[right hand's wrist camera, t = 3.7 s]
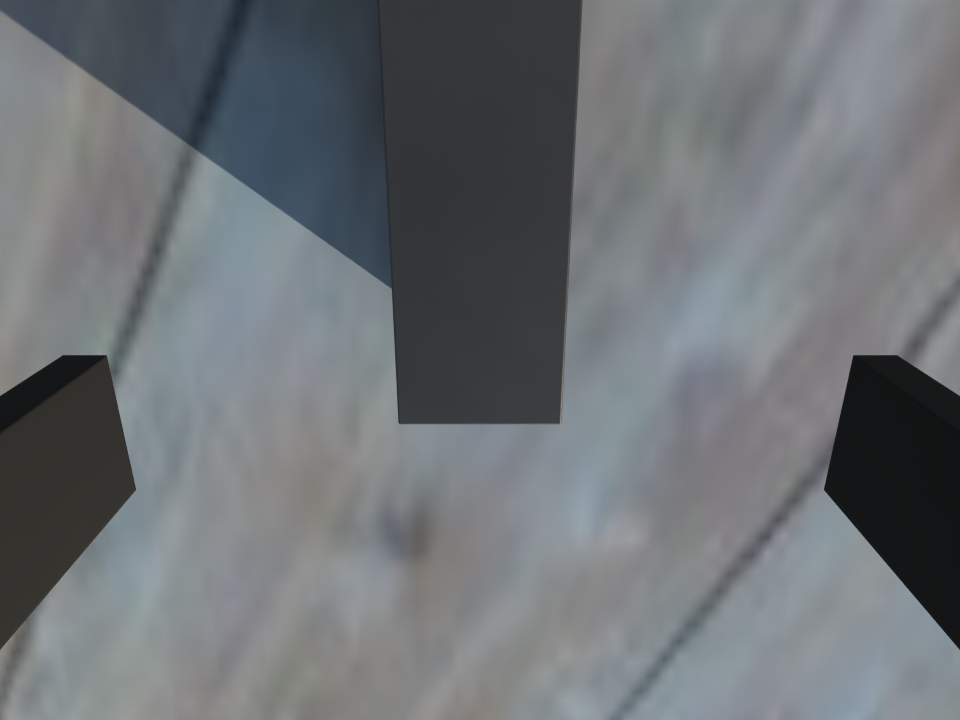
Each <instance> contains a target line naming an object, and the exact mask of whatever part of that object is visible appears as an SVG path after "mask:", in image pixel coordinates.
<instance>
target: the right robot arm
mask: <svg viewBox="0 0 960 720" xmlns="http://www.w3.org/2000/svg"><path fill="white" fill-rule="evenodd" d="M135 490H136V487H135V483H134V478H133V474H132V469H131V465H130V460H129V455H128V451H127V446H126V442H125V437H124V433H123V428H122V423H121V419H120V414H119V410H118V405H117V401H116V396H115V391H114V387H113V382H112V378H111V373H110V369H109V364H108V359H107V355H63V356H61V357H60V358H58V359H57V360H55V361H54V362H52V363H51V364H49V365H47V366H46V367H44V368H43V369H41V370H40V371H38V372H37V373H35V374H34V375H32V376H30V377H29V378H27V379H26V380H24V381H23V382H21V383H20V384H18V385H17V386H15V387H14V388H12V389H10V390H9V391H7V392H6V393H4V394H3V395H1V396H0V649H1V648H2V647H3V646H4V645H5V643H6V642H7V641H8V640H9V639H10V638H11V636H12V635H13V634H14V633H15V632H16V631H17V629H18V628H19V627H20V626H21V625H22V623H23V622H24V621H25V620H26V619H27V618H28V616H29V615H30V614H31V613H32V612H33V611H34V609H35V608H36V607H37V606H38V605H39V603H40V602H41V601H42V600H43V599H44V598H45V596H46V595H47V594H48V593H49V592H50V591H51V589H52V588H53V587H54V586H55V585H56V583H57V582H58V581H59V580H60V579H61V578H62V576H63V575H64V574H65V573H66V572H67V570H68V569H69V568H70V567H71V566H72V565H73V563H74V562H75V561H76V560H77V559H78V558H79V556H80V555H81V554H82V553H83V552H84V550H85V549H86V548H87V547H88V546H89V545H90V543H91V542H92V541H93V540H94V539H95V538H96V536H97V535H98V534H99V533H100V532H101V530H102V529H103V528H104V527H105V526H106V525H107V523H108V522H109V521H110V520H111V519H112V518H113V516H114V515H115V514H116V513H117V512H118V510H119V509H120V508H121V507H122V506H123V505H124V503H125V502H126V501H127V500H128V499H129V497H130V496H131V495H132V494H133V493H134V492H135ZM824 490H825V492H826V493H827V494H828V495H829V496H830V498H831V499H832V500H833V501H834V502H835V503H836V505H837V506H838V507H839V508H840V509H841V510H842V512H843V513H844V514H845V515H846V516H847V518H848V519H849V520H850V521H851V522H852V523H853V525H854V526H855V527H856V528H857V529H858V530H859V532H860V533H861V534H862V535H863V536H864V538H865V539H866V540H867V541H868V542H869V543H870V545H871V546H872V547H873V548H874V549H875V550H876V552H877V553H878V554H879V555H880V556H881V558H882V559H883V560H884V561H885V562H886V563H887V565H888V566H889V567H890V568H891V569H892V570H893V572H894V573H895V574H896V575H897V576H898V578H899V579H900V580H901V581H902V582H903V583H904V585H905V586H906V587H907V588H908V589H909V591H910V592H911V593H912V594H913V595H914V596H915V598H916V599H917V600H918V601H919V602H920V603H921V605H922V606H923V607H924V608H925V609H926V611H927V612H928V613H929V614H930V615H931V616H932V618H933V619H934V620H935V621H936V622H937V623H938V625H939V626H940V627H941V628H942V629H943V631H944V632H945V633H946V634H947V635H948V636H949V638H950V639H951V640H952V641H953V642H954V643H955V645H956V646H957V647H958V648H959V649H960V396H959V395H957V394H956V393H954V392H953V391H951V390H950V389H948V388H946V387H945V386H943V385H942V384H940V383H939V382H937V381H936V380H934V379H933V378H931V377H930V376H928V375H926V374H925V373H923V372H922V371H920V370H919V369H917V368H916V367H914V366H913V365H911V364H909V363H908V362H906V361H905V360H903V359H902V358H900V357H899V356H897V355H853V359H852V364H851V369H850V373H849V378H848V382H847V387H846V391H845V396H844V401H843V405H842V410H841V414H840V419H839V423H838V428H837V433H836V437H835V442H834V446H833V451H832V455H831V460H830V465H829V469H828V474H827V478H826V483H825V487H824Z"/></svg>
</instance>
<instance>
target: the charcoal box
mask: <svg viewBox="0 0 960 720" xmlns="http://www.w3.org/2000/svg"><path fill="white" fill-rule="evenodd" d="M581 18H582V0H378V19H379V39H380V59H381V79H382V99H383V119H384V139H385V159H386V180H387V200H388V220H389V240H390V260H391V280H392V300H393V321H394V341H395V361H396V381H397V401H398V421H399V424H561V421H562V401H563V381H564V360H565V340H566V320H567V300H568V280H569V260H570V240H571V220H572V199H573V179H574V159H575V139H576V119H577V99H578V79H579V58H580V38H581Z"/></svg>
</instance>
